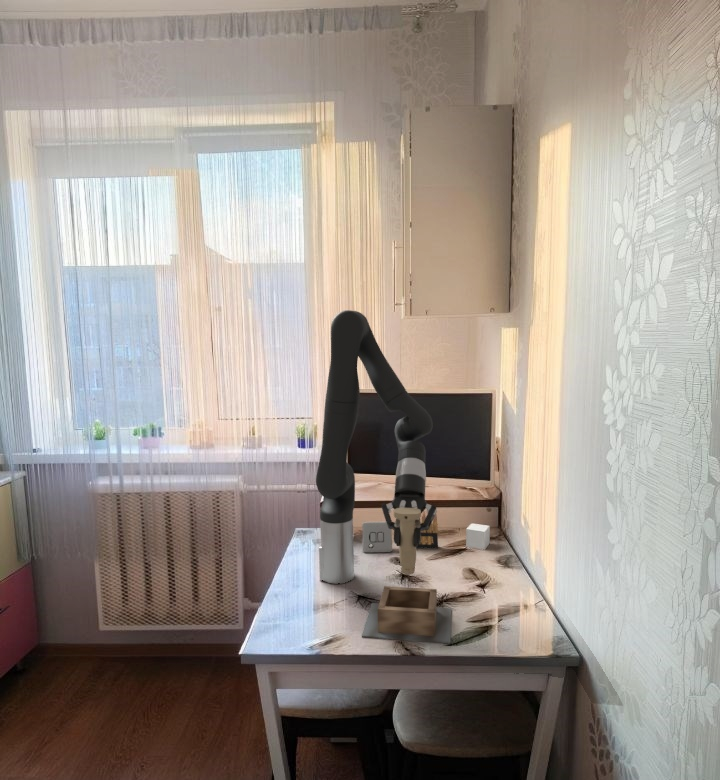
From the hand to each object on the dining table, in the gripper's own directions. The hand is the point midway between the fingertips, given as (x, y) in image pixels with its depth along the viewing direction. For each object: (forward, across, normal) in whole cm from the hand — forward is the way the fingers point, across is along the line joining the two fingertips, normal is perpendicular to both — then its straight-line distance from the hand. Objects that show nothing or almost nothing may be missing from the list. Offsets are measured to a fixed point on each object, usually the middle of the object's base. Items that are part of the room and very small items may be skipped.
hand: (406, 544), depth 135 cm
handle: (+4, 0, +7) cm, 8 cm away
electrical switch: (-19, -14, +48) cm, 53 cm away
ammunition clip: (-21, 0, +50) cm, 55 cm away
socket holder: (+13, 0, +15) cm, 20 cm away
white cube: (-24, +18, +53) cm, 61 cm away
